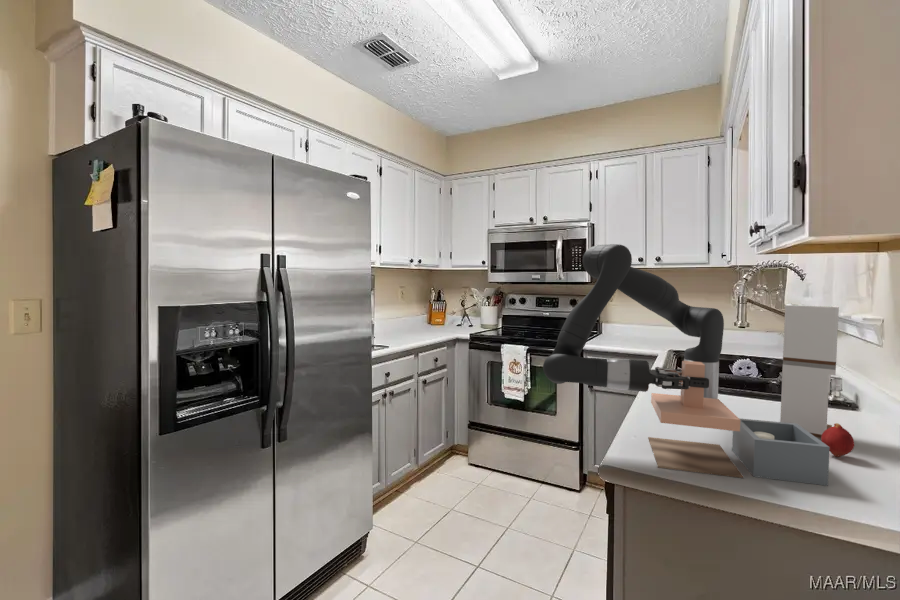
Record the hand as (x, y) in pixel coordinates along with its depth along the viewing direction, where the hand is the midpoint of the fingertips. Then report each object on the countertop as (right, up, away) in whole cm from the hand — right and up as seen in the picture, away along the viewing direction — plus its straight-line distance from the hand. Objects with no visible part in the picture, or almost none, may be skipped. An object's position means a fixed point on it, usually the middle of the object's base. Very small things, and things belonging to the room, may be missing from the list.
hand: (705, 380), depth 101 cm
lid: (-3, -8, +1) cm, 9 cm away
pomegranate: (+32, -19, +2) cm, 37 cm away
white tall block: (+37, -18, +17) cm, 45 cm away
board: (-3, -18, +2) cm, 18 cm away
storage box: (+14, -19, -3) cm, 23 cm away
